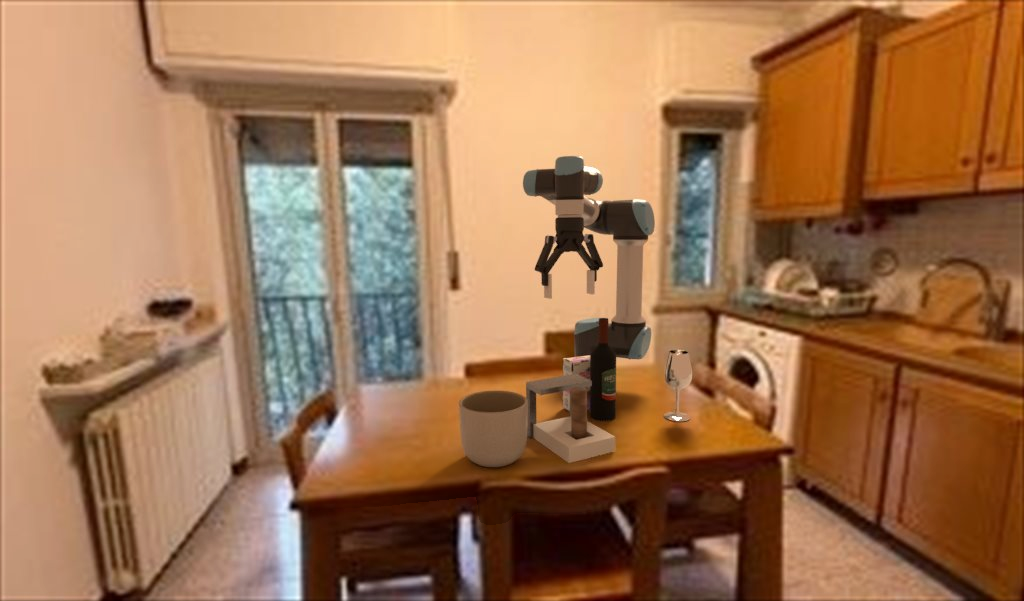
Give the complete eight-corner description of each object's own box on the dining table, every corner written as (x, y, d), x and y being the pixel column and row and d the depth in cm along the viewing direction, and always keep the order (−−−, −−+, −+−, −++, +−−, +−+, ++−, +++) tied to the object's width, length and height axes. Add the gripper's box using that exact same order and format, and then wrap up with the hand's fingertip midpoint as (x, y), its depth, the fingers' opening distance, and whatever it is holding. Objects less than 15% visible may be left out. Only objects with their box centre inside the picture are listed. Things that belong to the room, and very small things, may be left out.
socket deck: (576, 428, 161) (576, 415, 160) (615, 451, 145) (615, 436, 144) (533, 437, 154) (533, 424, 154) (568, 463, 139) (568, 447, 138)
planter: (532, 472, 134) (531, 411, 132) (460, 476, 133) (458, 414, 130) (524, 443, 151) (523, 388, 148) (460, 446, 149) (459, 391, 147)
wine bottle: (600, 410, 175) (600, 315, 170) (620, 416, 169) (621, 318, 165) (584, 417, 170) (585, 319, 165) (605, 423, 164) (606, 322, 160)
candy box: (571, 414, 172) (571, 362, 170) (562, 408, 177) (561, 357, 175) (609, 407, 178) (610, 356, 175) (599, 402, 183) (599, 352, 180)
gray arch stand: (575, 425, 163) (575, 373, 160) (591, 435, 156) (591, 380, 153) (526, 436, 156) (526, 381, 153) (541, 446, 149) (540, 389, 146)
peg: (581, 444, 150) (581, 386, 147) (589, 450, 146) (590, 390, 144) (568, 447, 148) (568, 388, 145) (576, 453, 144) (576, 392, 142)
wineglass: (658, 417, 168) (660, 352, 165) (671, 410, 174) (672, 347, 171) (683, 424, 163) (685, 356, 160) (695, 416, 168) (697, 351, 165)
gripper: (599, 215, 158) (599, 290, 161) (521, 217, 147) (522, 298, 150) (616, 215, 151) (615, 293, 155) (535, 217, 140) (536, 301, 144)
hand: (569, 296), depth 152 cm, fingers open, 13 cm apart
